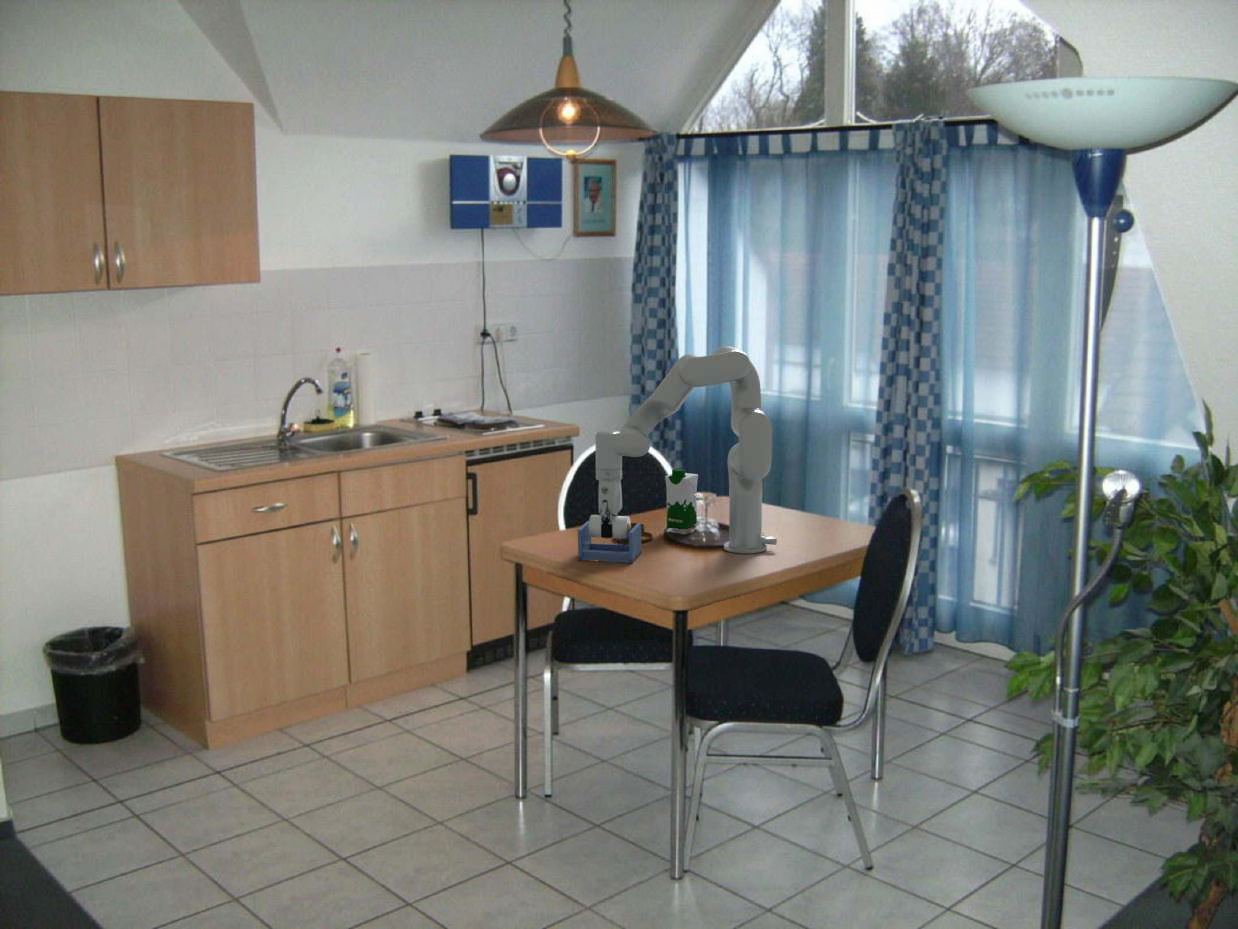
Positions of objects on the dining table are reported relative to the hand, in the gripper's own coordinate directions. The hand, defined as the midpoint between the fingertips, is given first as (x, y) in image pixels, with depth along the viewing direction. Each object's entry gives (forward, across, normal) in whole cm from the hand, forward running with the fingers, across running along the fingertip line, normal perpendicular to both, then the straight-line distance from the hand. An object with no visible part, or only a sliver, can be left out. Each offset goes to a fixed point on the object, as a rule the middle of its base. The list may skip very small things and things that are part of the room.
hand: (609, 534), depth 365 cm
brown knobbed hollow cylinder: (+8, +17, 0) cm, 19 cm away
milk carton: (+7, +33, -15) cm, 37 cm away
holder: (+7, 0, 0) cm, 7 cm away
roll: (+1, 0, 0) cm, 1 cm away
